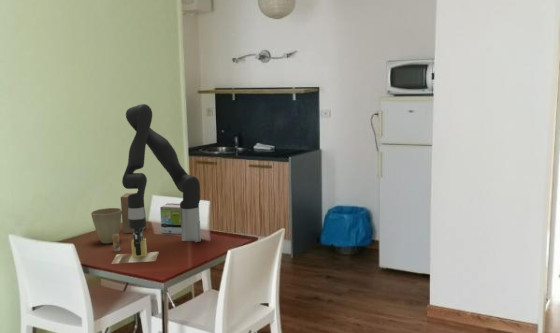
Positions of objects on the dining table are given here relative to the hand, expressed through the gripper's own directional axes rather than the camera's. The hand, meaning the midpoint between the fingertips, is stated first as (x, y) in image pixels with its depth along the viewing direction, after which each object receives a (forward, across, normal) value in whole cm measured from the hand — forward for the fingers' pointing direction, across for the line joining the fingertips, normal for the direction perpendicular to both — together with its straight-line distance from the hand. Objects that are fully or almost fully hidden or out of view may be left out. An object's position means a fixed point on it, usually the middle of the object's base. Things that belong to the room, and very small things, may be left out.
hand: (139, 253), depth 254 cm
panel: (+2, -3, +1) cm, 4 cm away
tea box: (+2, +44, -15) cm, 46 cm away
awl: (+2, +10, +12) cm, 15 cm away
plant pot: (+2, +32, +19) cm, 38 cm away
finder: (+1, 0, 0) cm, 1 cm away
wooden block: (+2, +52, +9) cm, 53 cm away
